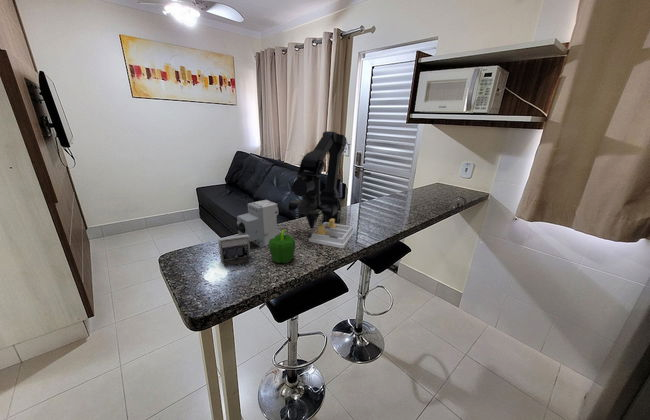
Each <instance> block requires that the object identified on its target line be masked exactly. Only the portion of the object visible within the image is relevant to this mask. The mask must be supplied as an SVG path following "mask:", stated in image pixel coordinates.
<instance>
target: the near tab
mask: <svg viewBox="0 0 650 420" xmlns="http://www.w3.org/2000/svg"><path fill="white" fill-rule="evenodd" d="M322 224H323V223H322ZM322 224H320V225H318V228H317V229H318V232H317V234H323V235H326V231H325V225H322Z"/></svg>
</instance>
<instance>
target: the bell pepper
mask: <svg viewBox="0 0 650 420" xmlns="http://www.w3.org/2000/svg"><path fill="white" fill-rule="evenodd" d="M285 233H286V229H282V230H281V234H280V233H279V234H278V235H277V236H275V238H272V239H270V241H269V245H268V246H269V254H270V256H271V258H272V260H273V262H275V263H276V264H281V263H283V264H284V263H285V264H286V263H287V264H288V263H289V262H291V261H292V259H293V258H294V255H295V250H296V241H295V239H294V238H293V237H292V236H291V235H290V234H288V233H287V234H285Z"/></svg>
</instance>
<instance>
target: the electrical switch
mask: <svg viewBox="0 0 650 420" xmlns="http://www.w3.org/2000/svg"><path fill="white" fill-rule="evenodd" d="M249 240H250V237H249V235H241V236H240V235H234V236H226V237H220V238H218V240H217V241H218V249H219V257H220V258H219V259H220V261H221V262H223V265H224V266H231V265H235V264H241V263H246V262H250V257H251V247H250V245H251V241H250V242H249Z"/></svg>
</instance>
